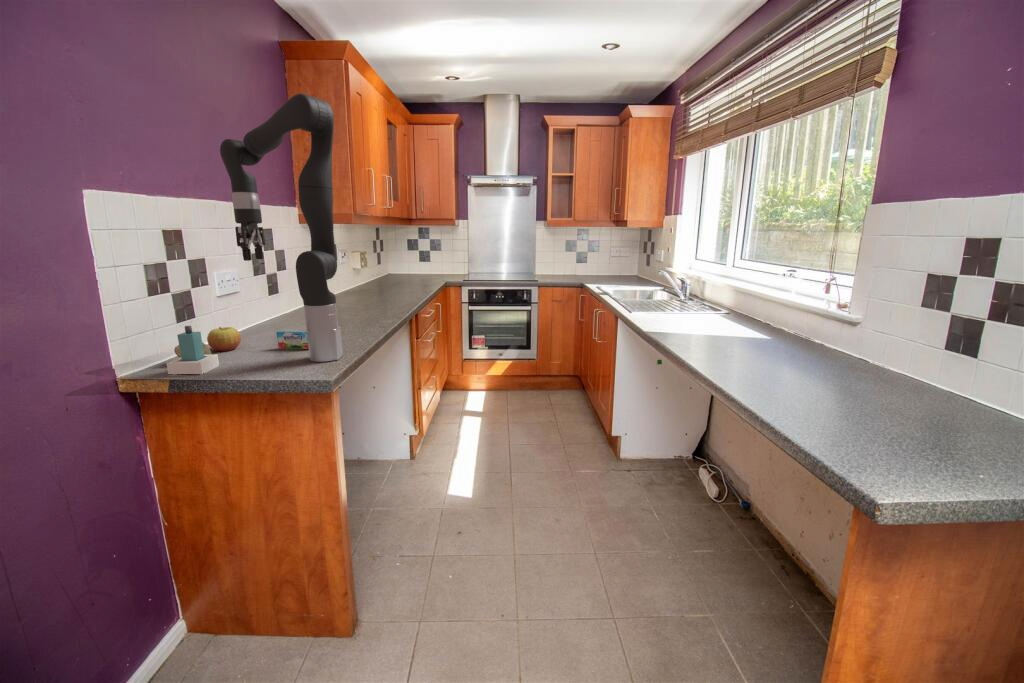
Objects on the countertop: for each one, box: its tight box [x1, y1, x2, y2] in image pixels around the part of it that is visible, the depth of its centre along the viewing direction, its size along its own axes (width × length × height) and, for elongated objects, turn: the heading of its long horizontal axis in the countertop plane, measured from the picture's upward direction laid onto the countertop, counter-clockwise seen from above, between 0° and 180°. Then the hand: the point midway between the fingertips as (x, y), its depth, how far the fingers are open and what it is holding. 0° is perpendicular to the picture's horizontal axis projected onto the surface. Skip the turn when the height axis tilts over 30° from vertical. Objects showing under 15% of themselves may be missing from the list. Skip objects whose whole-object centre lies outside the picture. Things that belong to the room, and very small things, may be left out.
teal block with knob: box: [176, 325, 205, 361], centre depth 134 cm, size 4×4×13 cm
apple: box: [206, 326, 242, 352], centre depth 159 cm, size 10×10×8 cm
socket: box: [166, 353, 220, 375], centre depth 135 cm, size 9×9×4 cm
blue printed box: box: [276, 330, 309, 350], centre depth 159 cm, size 12×2×6 cm, turn 83°
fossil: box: [174, 341, 212, 358], centre depth 144 cm, size 9×4×10 cm
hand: (253, 259), depth 152 cm, fingers open, 8 cm apart
